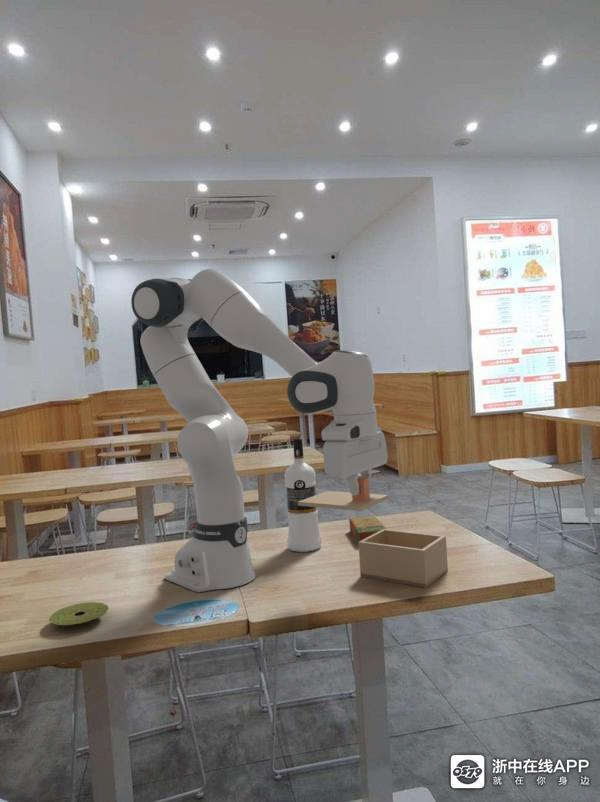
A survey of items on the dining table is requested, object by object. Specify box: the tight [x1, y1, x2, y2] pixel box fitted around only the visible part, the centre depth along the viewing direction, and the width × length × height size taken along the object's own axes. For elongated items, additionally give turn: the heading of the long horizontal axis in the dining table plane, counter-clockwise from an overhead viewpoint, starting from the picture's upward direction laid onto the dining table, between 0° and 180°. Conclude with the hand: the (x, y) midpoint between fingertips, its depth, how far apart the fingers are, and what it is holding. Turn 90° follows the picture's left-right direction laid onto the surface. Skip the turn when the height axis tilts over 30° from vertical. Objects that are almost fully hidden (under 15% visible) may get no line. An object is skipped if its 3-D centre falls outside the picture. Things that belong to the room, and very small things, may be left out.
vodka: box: [283, 437, 323, 553], centre depth 158 cm, size 9×9×30 cm
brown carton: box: [358, 528, 449, 589], centre depth 134 cm, size 16×12×8 cm
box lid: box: [298, 476, 389, 512], centre depth 125 cm, size 16×12×5 cm
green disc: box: [48, 601, 109, 626], centre depth 118 cm, size 11×11×2 cm
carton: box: [348, 516, 387, 546], centre depth 165 cm, size 8×16×4 cm, turn 5°
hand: (360, 492), depth 123 cm, fingers closed on box lid
